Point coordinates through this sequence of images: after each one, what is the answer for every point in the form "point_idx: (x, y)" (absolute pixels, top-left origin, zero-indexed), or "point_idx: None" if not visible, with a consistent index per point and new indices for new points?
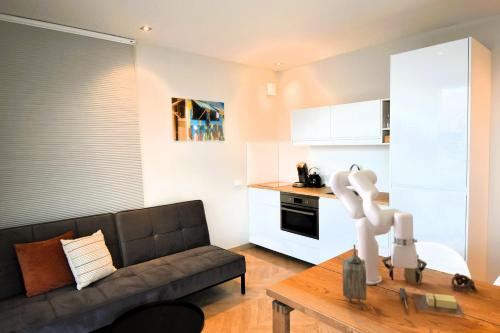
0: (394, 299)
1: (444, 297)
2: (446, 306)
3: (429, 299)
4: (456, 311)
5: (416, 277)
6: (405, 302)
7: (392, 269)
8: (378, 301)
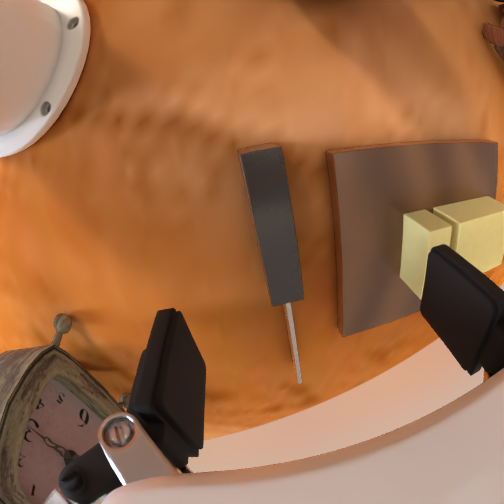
0: (218, 260)
1: (484, 244)
2: None
3: (420, 296)
4: None
5: (445, 343)
6: (293, 344)
7: (168, 415)
8: (148, 321)
